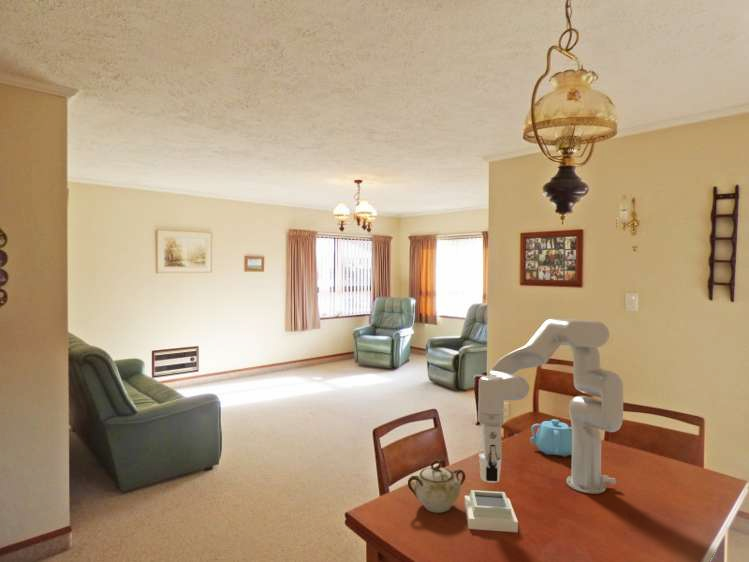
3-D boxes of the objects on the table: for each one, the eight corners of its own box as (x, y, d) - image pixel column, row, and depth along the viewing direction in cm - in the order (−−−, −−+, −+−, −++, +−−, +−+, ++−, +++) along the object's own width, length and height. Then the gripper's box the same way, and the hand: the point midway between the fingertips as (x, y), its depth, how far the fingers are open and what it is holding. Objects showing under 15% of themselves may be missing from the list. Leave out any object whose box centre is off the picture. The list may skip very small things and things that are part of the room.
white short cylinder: (499, 474, 140) (499, 452, 140) (503, 484, 134) (503, 460, 134) (477, 473, 141) (477, 451, 141) (480, 483, 134) (480, 459, 134)
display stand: (508, 507, 144) (509, 489, 144) (517, 532, 130) (518, 512, 130) (464, 504, 145) (464, 487, 145) (468, 528, 131) (468, 509, 131)
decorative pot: (556, 443, 201) (556, 412, 201) (584, 456, 186) (585, 423, 185) (526, 447, 195) (526, 416, 195) (553, 461, 180) (553, 428, 180)
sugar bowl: (415, 522, 135) (415, 472, 135) (400, 498, 149) (401, 453, 149) (475, 514, 139) (475, 466, 139) (455, 491, 154) (455, 448, 154)
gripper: (508, 427, 128) (507, 489, 128) (498, 409, 145) (498, 464, 146) (481, 425, 129) (481, 487, 129) (475, 408, 146) (474, 463, 146)
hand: (490, 475), depth 137 cm, fingers closed on white short cylinder, 6 cm apart
